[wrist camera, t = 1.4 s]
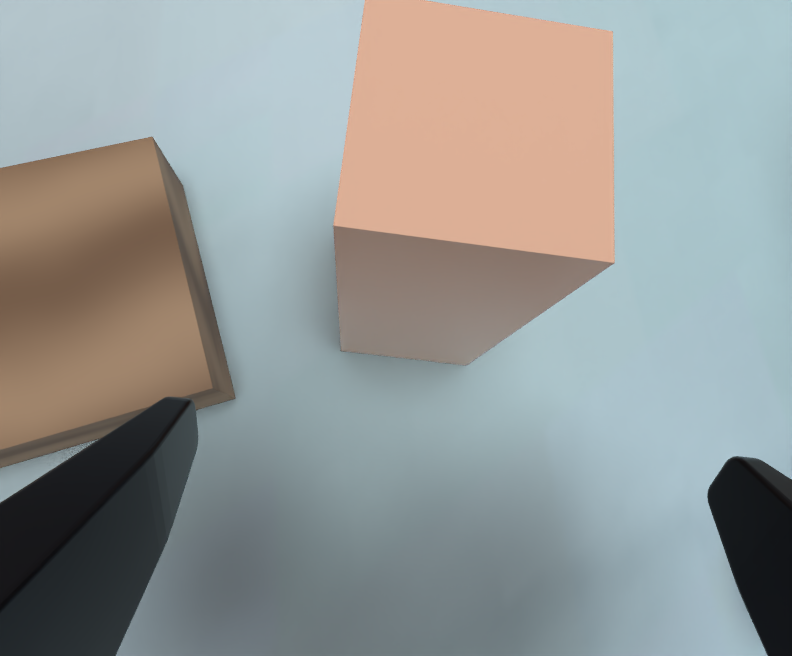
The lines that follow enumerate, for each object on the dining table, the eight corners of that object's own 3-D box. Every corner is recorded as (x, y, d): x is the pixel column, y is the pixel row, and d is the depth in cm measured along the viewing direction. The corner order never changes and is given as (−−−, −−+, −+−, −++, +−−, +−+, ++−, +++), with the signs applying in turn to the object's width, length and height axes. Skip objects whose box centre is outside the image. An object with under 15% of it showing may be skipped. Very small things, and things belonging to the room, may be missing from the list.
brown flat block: (237, 399, 21) (212, 387, 17) (-21, 475, 19) (-112, 482, 16) (185, 189, 23) (152, 136, 19) (-54, 243, 21) (-142, 197, 17)
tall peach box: (466, 365, 22) (614, 262, 10) (340, 350, 22) (333, 225, 9) (474, 248, 23) (612, 31, 11) (355, 233, 23) (366, -10, 11)
